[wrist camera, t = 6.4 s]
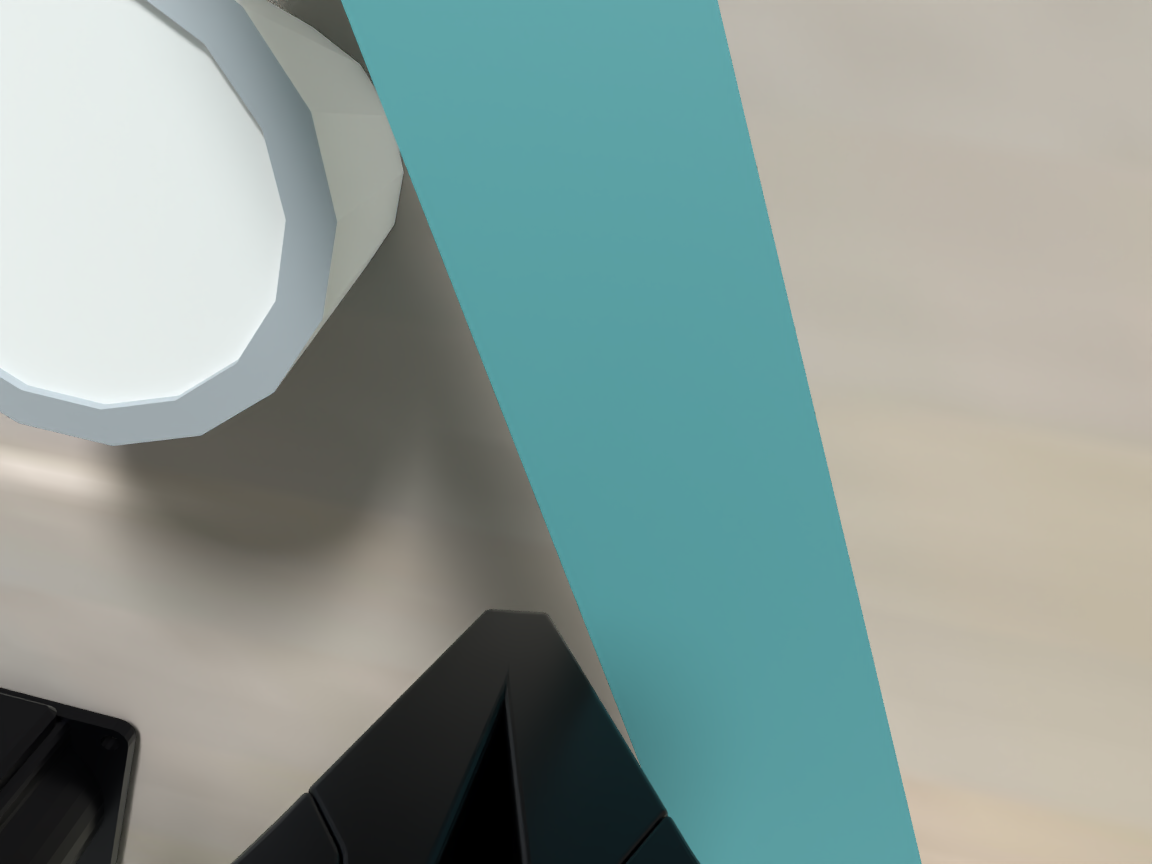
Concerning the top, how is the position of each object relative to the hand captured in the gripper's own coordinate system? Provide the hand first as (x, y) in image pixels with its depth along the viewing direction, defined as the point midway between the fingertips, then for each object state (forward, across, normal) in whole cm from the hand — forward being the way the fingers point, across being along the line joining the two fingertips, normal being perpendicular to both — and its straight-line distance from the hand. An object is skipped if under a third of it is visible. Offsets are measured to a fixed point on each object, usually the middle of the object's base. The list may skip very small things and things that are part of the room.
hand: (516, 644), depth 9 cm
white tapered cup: (+10, +6, -4) cm, 13 cm away
